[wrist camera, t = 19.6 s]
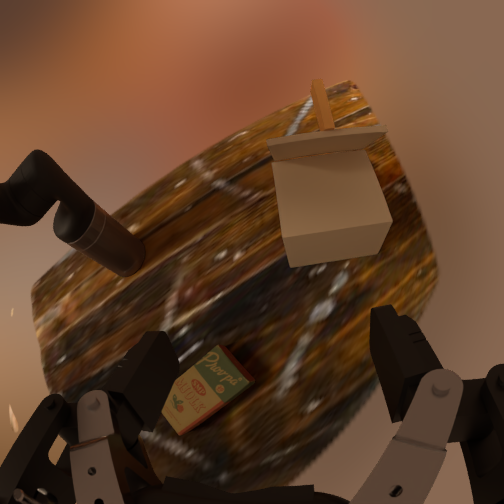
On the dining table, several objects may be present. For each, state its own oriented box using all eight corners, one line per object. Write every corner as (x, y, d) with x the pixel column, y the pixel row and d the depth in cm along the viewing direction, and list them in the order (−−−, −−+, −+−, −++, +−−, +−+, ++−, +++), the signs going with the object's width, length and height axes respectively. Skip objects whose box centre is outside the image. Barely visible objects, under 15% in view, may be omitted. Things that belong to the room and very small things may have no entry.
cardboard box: (281, 201, 53) (271, 162, 43) (358, 190, 51) (365, 149, 40) (290, 267, 48) (282, 237, 37) (377, 253, 45) (392, 221, 34)
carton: (163, 396, 43) (150, 397, 39) (225, 344, 45) (217, 342, 41) (189, 432, 39) (178, 436, 35) (257, 381, 41) (251, 382, 37)
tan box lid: (274, 161, 43) (266, 120, 42) (362, 149, 40) (352, 108, 39) (266, 144, 29) (255, 88, 28) (390, 129, 27) (374, 76, 25)
